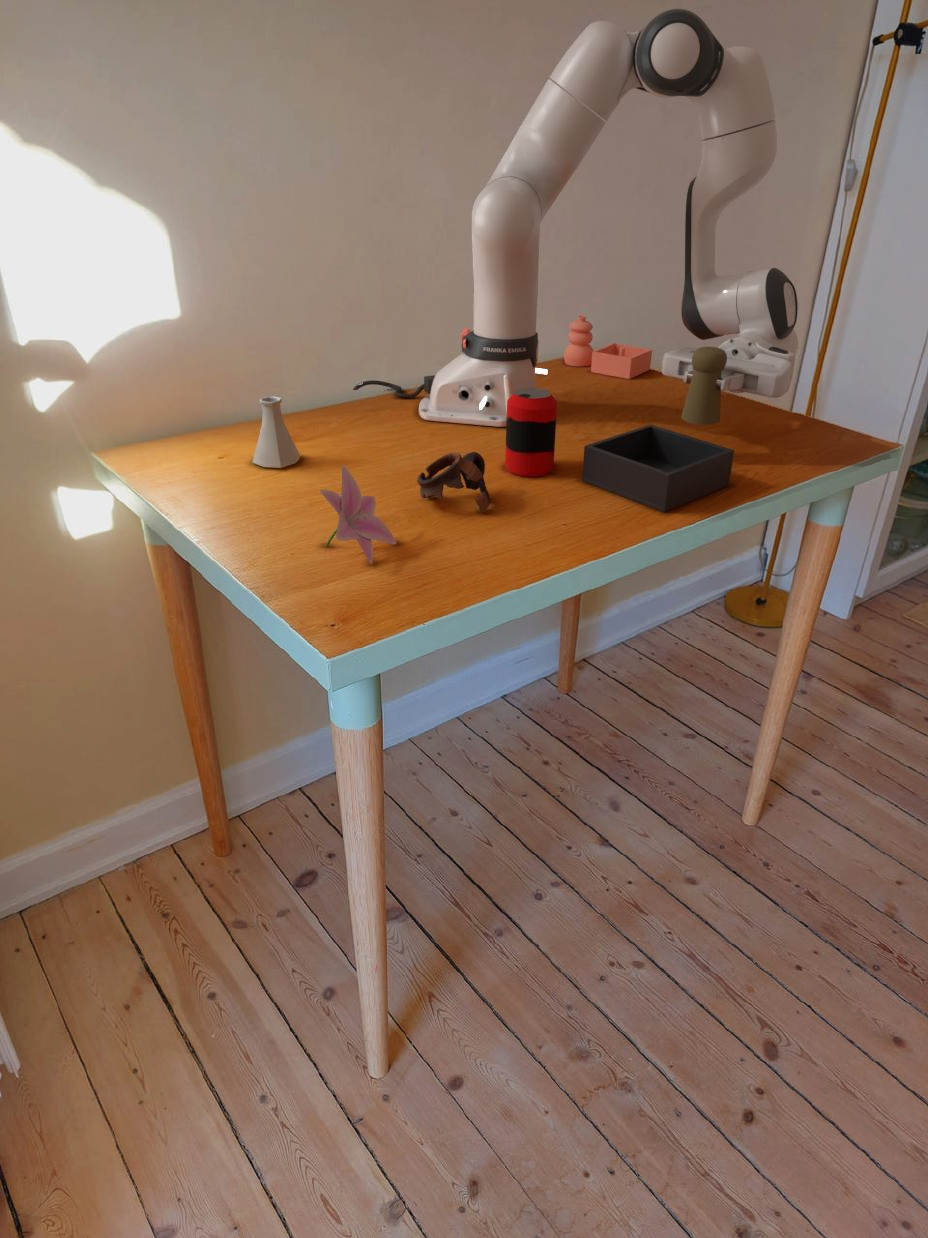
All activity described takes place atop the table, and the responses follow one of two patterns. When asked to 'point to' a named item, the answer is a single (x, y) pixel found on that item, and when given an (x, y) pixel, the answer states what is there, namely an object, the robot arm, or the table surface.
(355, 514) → the lily
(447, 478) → the broken clay pot
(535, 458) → the soda can
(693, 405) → the cork
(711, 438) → the table surface
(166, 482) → the table surface
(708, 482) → the open box
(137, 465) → the table surface
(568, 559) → the table surface
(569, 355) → the pottery
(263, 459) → the flask
